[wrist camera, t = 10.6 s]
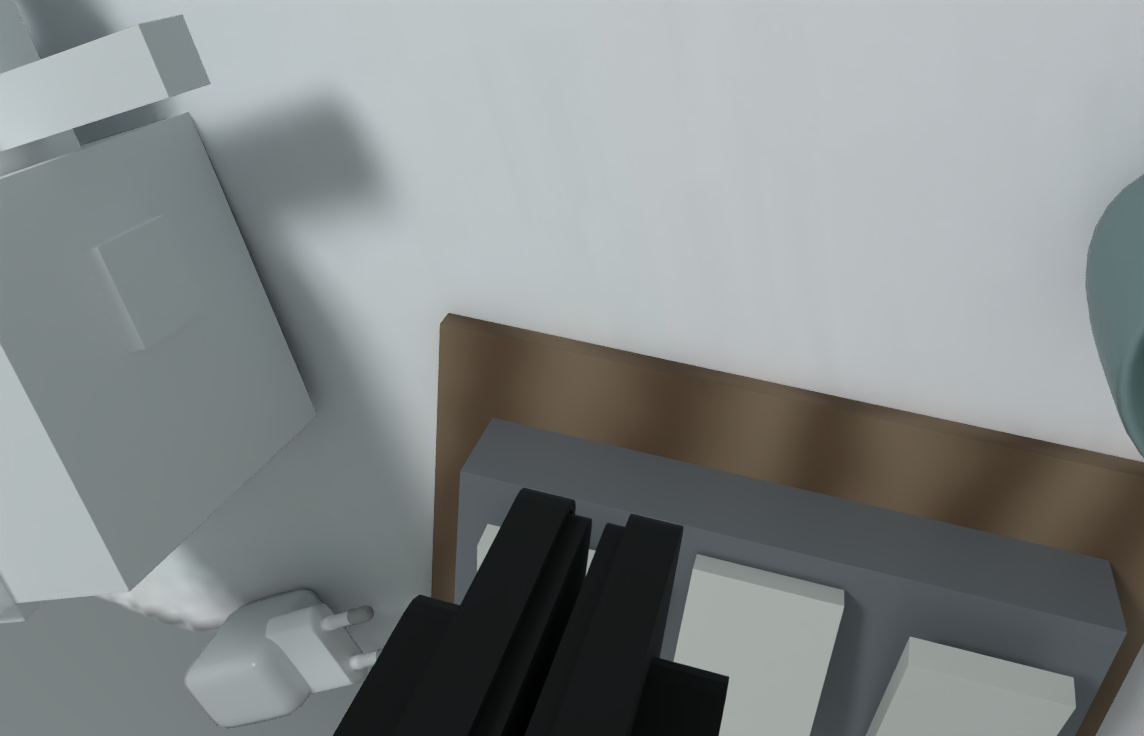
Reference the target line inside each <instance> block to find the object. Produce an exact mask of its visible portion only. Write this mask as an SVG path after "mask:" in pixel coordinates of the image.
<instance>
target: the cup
mask: <svg viewBox="0 0 1144 736" xmlns="http://www.w3.org/2000/svg"><path fill="white" fill-rule="evenodd" d="M1086 294H1087V302H1088V310H1089V318H1090V323H1091V328H1092V333H1093V337H1094V340H1095V344H1096V348H1097V351H1098V354H1099V358H1100V361H1101V364H1102V367H1103V370H1104V373H1105V376H1106V379H1107V383H1108V385H1109V388H1110V391H1111V394H1112V397H1113V400H1114V403H1115V405H1116V408H1117V411H1118V414H1119V417H1120V419H1121V422H1122V424H1123V426H1124V428H1125V430H1126V432H1127V434H1128V435H1129V437H1130V438H1131V440H1132V442H1133V443H1134V445H1135V446H1136V448H1137V450H1138V451H1139V453H1140V454H1141V455H1142V456H1143V457H1144V174H1143V175H1142V176H1140V177H1139V178H1137V179H1136V180H1135V181H1133V182H1132V183H1131V184H1129V185H1128V186H1126V187H1125V188H1124V189H1123V190H1122V191H1121V192H1120V193H1119V194H1118V195H1117V196H1116V197H1115V198H1114V199H1113V200H1112V201H1111V203H1110V204H1109V205H1108V206H1107V208H1106V209H1105V211H1104V213H1103V215H1102V216H1101V218H1100V220H1099V221H1098V223H1097V225H1096V226H1095V229H1094V233H1093V236H1092V239H1091V242H1090V246H1089V250H1088V254H1087V266H1086Z"/></svg>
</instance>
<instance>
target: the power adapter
mask: <svg viewBox="0 0 1144 736" xmlns="http://www.w3.org/2000/svg"><path fill="white" fill-rule="evenodd" d="M373 616H374V611H373V609H372V608H371V607H370V606H363V607H359V608H356V609H352V610H349V611H347V612H344V613H340V614H335V613H334V612H333V610H332V609H331V608H330V607H329V606H328V605H327V604H323V603H322V602H321V601H320V600H319V598H318V597H317V596H316V595H315V594H314V593H313V592H312V591H308V590H304V589H297V590H293V591H289V592H285V593H281V594H278V595H274V596H271V597H268V598H264V599H261V600H258V601H254V602H251V603H249V604H246V605H243V606H241V607H240V608H239V609H237V610H236V611H234V612H233V613H232V614H230V615H229V617H228V618H227V619H226V620H225V621H224V622H223V624H222V625H221V626H220V627H219V629H218V630H217V631H216V632H215V634H214V635H213V636H212V637H211V639H210V640H209V641H208V643H207V644H206V645H205V646H204V648H203V649H202V650H201V652H200V653H199V655H198V656H197V657H196V658H195V660H194V661H193V662H192V664H191V665H190V667H189V668H188V670H187V671H186V673H185V678H184V686H185V688H186V689H187V691H188V692H189V694H190V695H191V696H192V698H193V699H194V700H195V701H196V703H197V704H198V705H199V706H200V707H201V708H202V710H203V711H204V712H205V714H206V715H207V716H208V717H209V718H210V719H211V720H212V721H213V722H214V723H215V724H216V725H217V726H221V727H224V728H236V727H241V726H246V725H251V724H256V723H260V722H265V721H269V720H273V719H277V718H281V717H284V716H288V715H290V714H291V713H293V712H294V711H296V710H297V709H298V708H299V707H301V706H302V705H303V704H304V702H305V701H306V700H307V698H308V697H309V695H310V694H313V693H318V692H322V691H327V690H331V689H335V688H340V687H344V686H348V685H353V684H356V683H360V682H364V681H365V679H366V677H367V667H369V666H373V665H374V664H375V662H376V660H377V658H378V657H379V655H380V653H381V652H382V650H383V649H379V650H377V651H373V652H369V653H365V654H364V653H363V652H362V650H361V649H360V648H359V646H358V645H357V643H356V642H355V641H354V639H353V638H352V637H351V635H350V634H349V632H348V631H347V630H346V628H345V627H344V626H347V625H351V624H352V625H354V624H358V623H361V622H365V621H369V620H371V619H372V618H373Z"/></svg>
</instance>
